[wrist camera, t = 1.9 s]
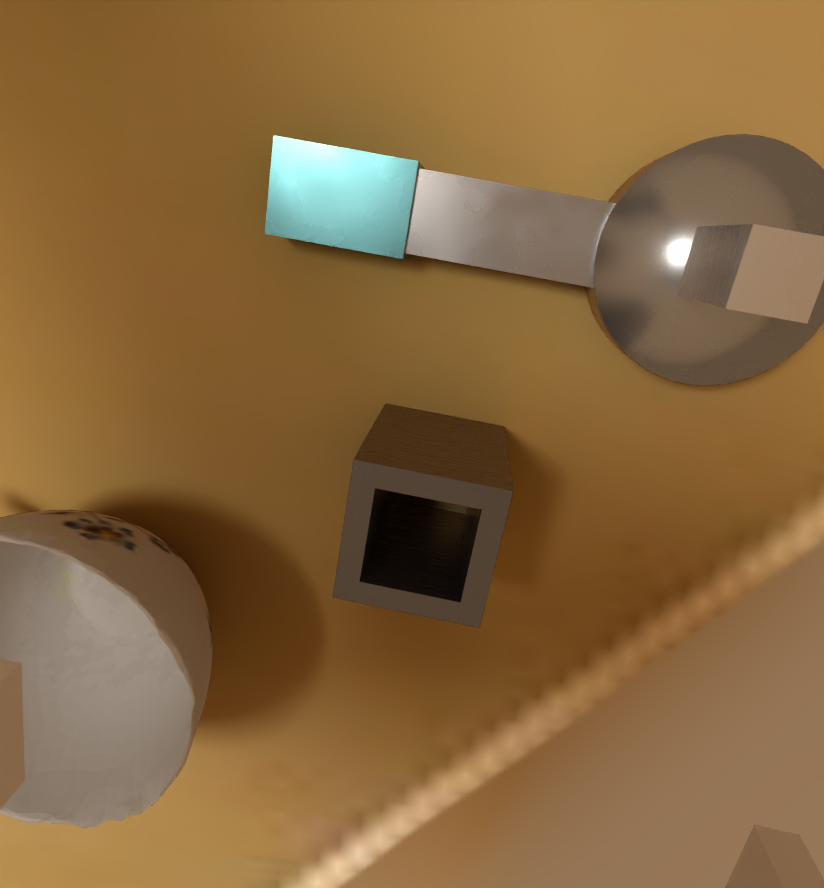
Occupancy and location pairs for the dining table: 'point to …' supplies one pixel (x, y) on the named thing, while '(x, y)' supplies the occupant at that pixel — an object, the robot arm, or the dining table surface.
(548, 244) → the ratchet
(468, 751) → the dining table surface
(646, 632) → the dining table surface
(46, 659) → the teacup
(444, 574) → the square hollow tube
